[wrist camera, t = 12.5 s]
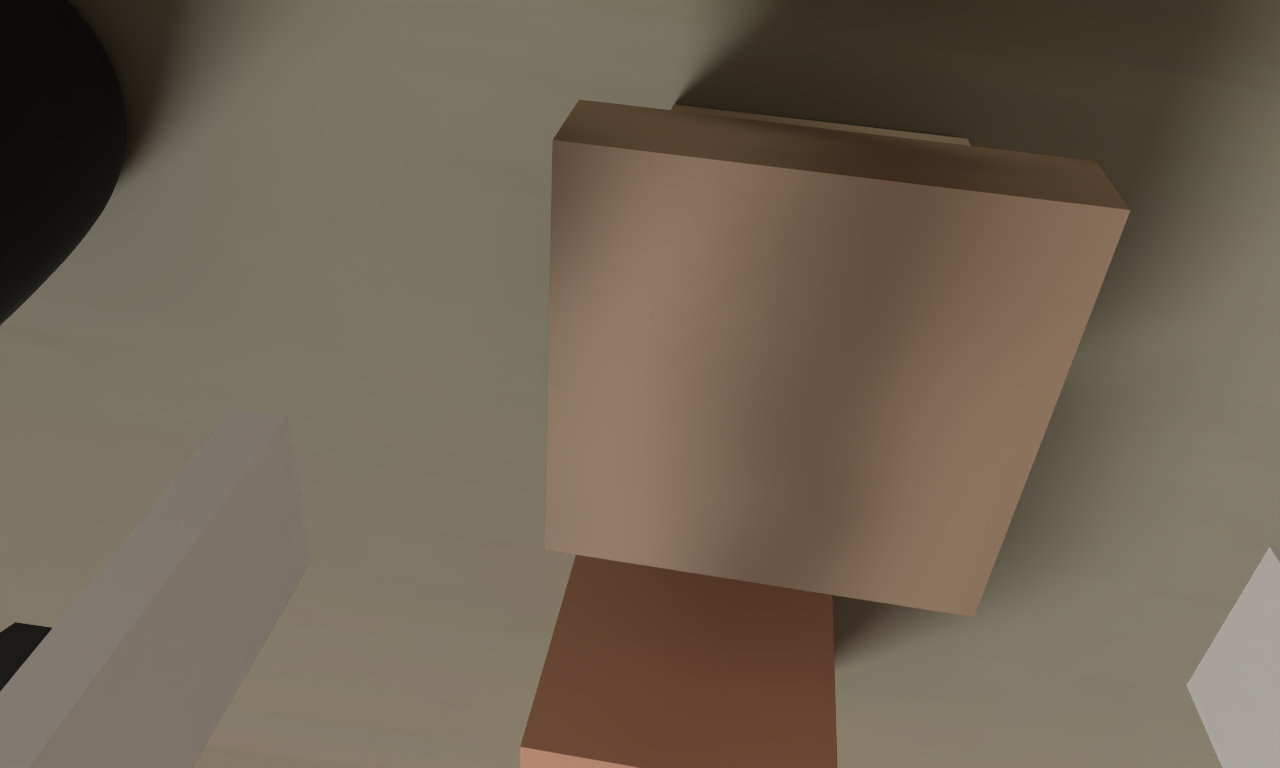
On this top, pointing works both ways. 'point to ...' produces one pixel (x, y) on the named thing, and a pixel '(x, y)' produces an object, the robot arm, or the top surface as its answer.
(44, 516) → the top surface
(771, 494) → the lid
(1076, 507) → the top surface
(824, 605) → the tan hollow square block
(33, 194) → the mug
